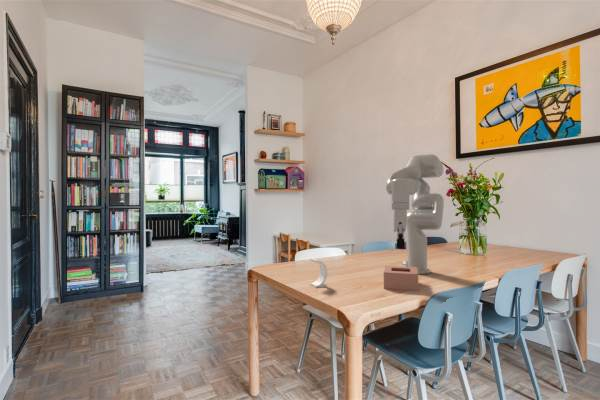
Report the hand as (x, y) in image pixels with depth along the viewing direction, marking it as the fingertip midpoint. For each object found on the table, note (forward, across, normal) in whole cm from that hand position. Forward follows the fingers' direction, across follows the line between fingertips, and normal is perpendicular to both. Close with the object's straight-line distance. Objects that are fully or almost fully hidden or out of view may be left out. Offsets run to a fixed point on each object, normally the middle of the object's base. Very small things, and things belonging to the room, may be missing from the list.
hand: (400, 247), depth 144 cm
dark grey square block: (+1, 0, 0) cm, 1 cm away
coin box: (+17, 0, 0) cm, 17 cm away
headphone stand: (+17, +10, -35) cm, 40 cm away
